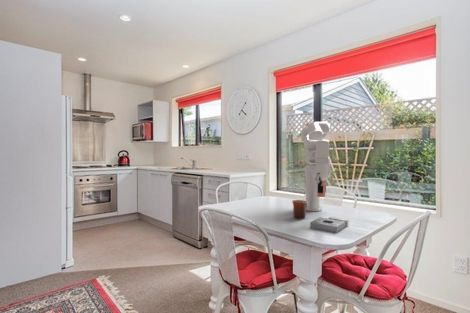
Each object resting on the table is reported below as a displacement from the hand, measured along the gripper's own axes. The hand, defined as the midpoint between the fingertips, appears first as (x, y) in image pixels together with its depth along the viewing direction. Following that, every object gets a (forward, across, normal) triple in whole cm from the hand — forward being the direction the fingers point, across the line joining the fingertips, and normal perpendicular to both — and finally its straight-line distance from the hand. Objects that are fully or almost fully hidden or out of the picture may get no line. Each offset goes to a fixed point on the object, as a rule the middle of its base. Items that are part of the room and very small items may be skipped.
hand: (321, 192), depth 160 cm
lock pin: (+3, 0, 0) cm, 3 cm away
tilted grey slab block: (+17, +1, +10) cm, 20 cm away
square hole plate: (+17, +11, +8) cm, 22 cm away
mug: (+17, 0, -13) cm, 22 cm away
